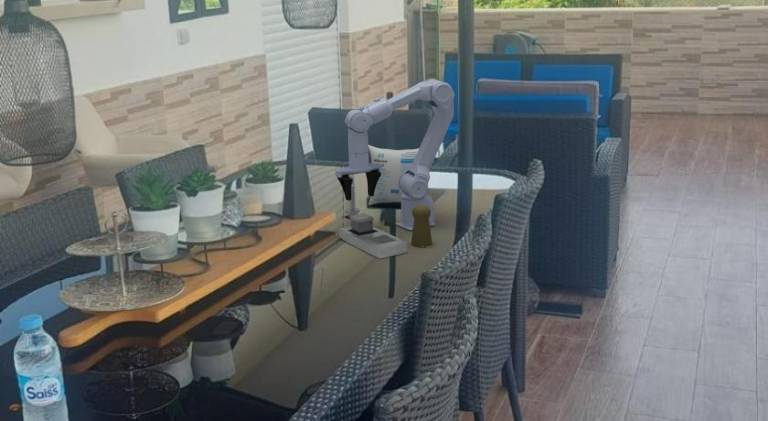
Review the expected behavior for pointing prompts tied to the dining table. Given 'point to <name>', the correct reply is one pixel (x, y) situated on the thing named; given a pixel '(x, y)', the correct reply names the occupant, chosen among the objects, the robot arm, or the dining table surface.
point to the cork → (421, 226)
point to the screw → (352, 202)
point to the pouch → (390, 172)
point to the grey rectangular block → (361, 224)
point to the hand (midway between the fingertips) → (359, 197)
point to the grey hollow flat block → (375, 242)
